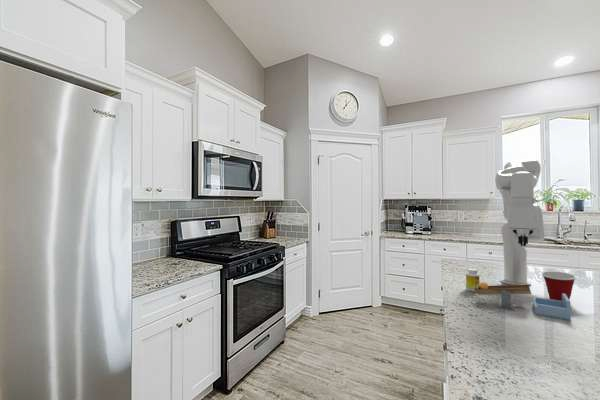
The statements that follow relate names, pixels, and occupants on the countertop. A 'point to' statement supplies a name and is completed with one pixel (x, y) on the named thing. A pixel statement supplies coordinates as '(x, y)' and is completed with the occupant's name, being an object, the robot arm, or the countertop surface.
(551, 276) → the plastic cup
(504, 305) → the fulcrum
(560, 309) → the blue tray
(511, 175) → the robot arm
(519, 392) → the countertop surface
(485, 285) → the ball
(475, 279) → the supplement bottle
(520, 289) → the lever
